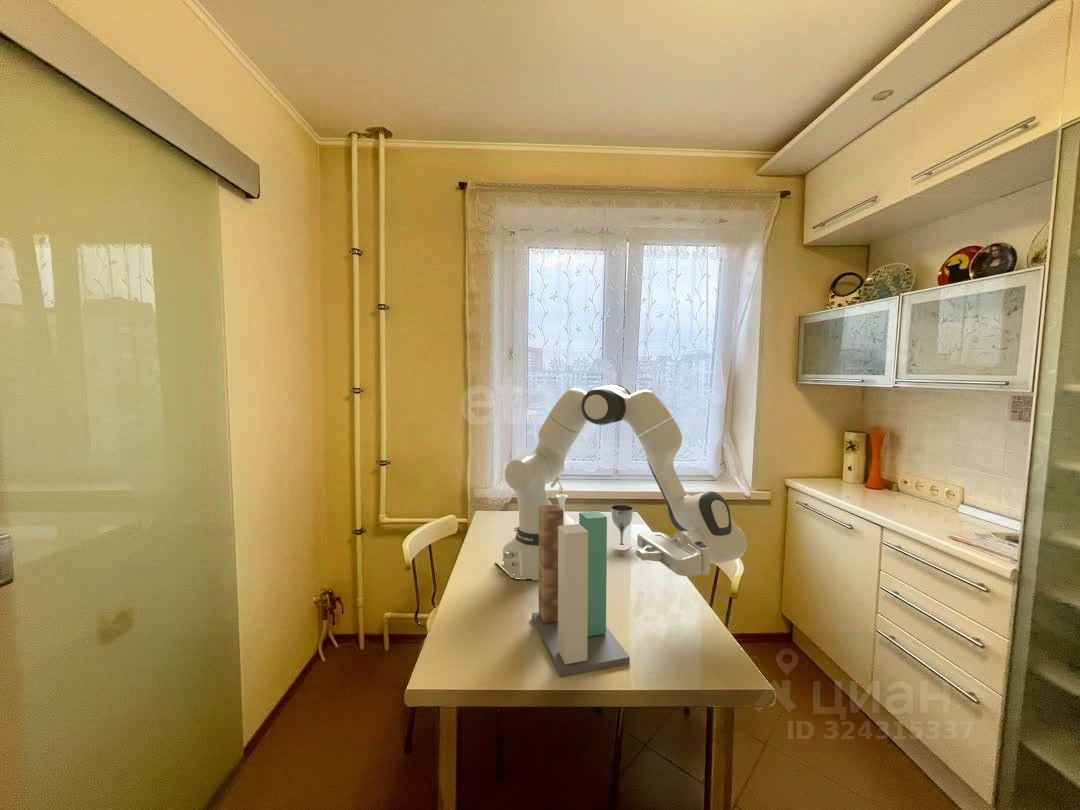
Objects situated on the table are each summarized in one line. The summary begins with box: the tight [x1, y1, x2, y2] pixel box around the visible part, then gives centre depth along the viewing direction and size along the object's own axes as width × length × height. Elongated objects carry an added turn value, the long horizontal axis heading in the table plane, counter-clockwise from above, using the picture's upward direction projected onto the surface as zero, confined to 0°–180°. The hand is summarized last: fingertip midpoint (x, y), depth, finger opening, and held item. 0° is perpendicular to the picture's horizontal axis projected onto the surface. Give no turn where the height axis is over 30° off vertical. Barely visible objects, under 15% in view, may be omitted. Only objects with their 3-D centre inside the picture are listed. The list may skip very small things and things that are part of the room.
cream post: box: [558, 523, 588, 665], centre depth 91 cm, size 5×5×28 cm
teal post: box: [578, 510, 608, 637], centre depth 101 cm, size 5×5×28 cm
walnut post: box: [538, 504, 565, 623], centre depth 107 cm, size 5×5×28 cm
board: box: [531, 611, 631, 678], centre depth 101 cm, size 16×23×2 cm
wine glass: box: [610, 504, 634, 545], centre depth 159 cm, size 8×8×15 cm
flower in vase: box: [550, 476, 576, 525], centre depth 179 cm, size 13×11×25 cm
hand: (638, 555), depth 104 cm, fingers closed
